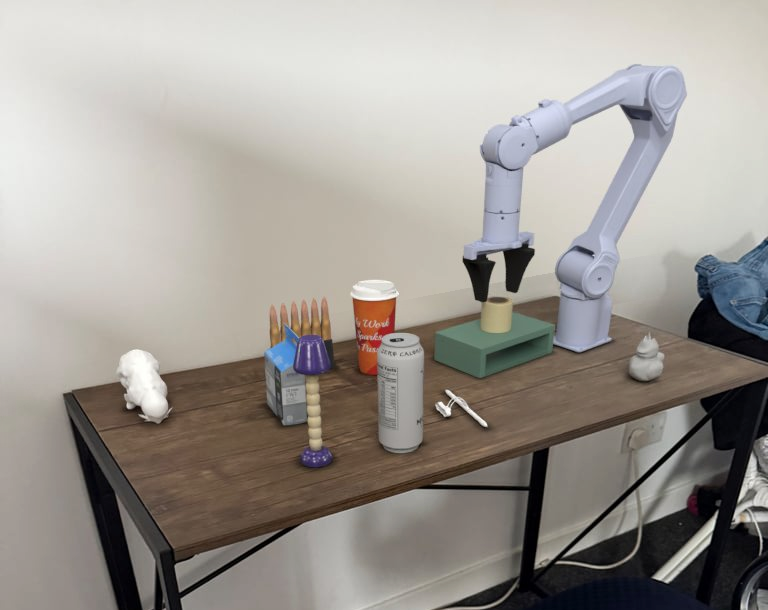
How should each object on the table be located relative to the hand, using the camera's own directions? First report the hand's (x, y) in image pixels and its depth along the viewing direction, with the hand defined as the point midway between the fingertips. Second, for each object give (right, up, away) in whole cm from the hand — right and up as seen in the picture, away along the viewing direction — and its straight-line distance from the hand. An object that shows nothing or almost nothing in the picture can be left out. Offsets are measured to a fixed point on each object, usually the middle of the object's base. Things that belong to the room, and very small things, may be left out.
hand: (496, 296), depth 126 cm
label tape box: (-33, -22, -14) cm, 42 cm away
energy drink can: (-17, -27, -23) cm, 39 cm away
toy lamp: (-28, -29, -26) cm, 48 cm away
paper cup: (-20, -12, +1) cm, 24 cm away
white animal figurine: (-54, -21, -13) cm, 59 cm away
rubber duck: (+23, -15, -4) cm, 28 cm away
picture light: (-8, -21, -14) cm, 27 cm away
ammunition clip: (-32, -13, 0) cm, 35 cm away
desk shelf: (0, -9, +5) cm, 10 cm away
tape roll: (0, -5, +2) cm, 5 cm away
